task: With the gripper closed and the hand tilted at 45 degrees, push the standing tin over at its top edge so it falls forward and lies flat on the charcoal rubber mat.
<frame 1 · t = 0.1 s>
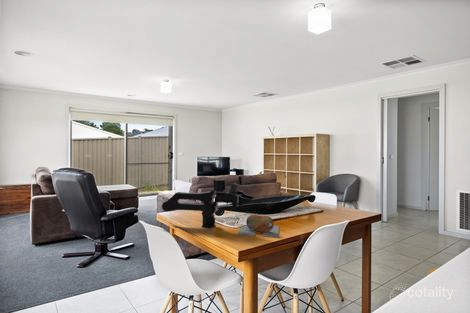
hand: (252, 199, 156), 17 cm above the table, tool horizontal, fingers open, 9 cm apart
tin: (260, 231, 151), on the table, touching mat
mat: (260, 231, 151), on the table
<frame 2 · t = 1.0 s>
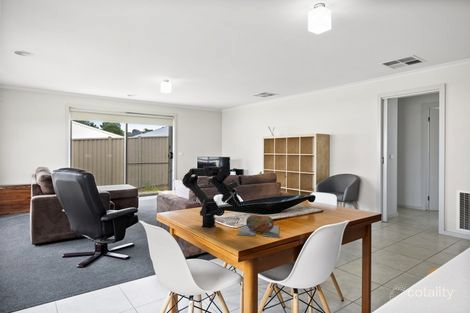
hand: (240, 206, 153), 13 cm above the table, tool tilted 45°, fingers open, 8 cm apart
nothing on the table moved.
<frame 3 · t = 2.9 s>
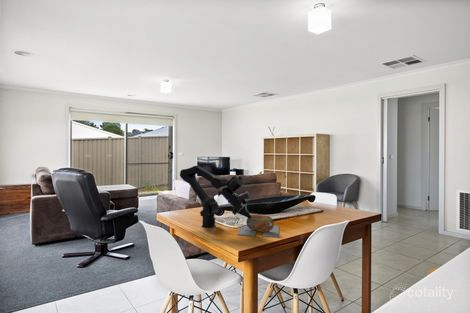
hand: (250, 217, 152), 7 cm above the table, tool tilted 45°, fingers closed
tin: (260, 230, 151), on the table, touching gripper, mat
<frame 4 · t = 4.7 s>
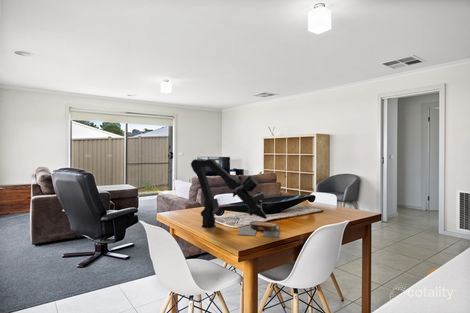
hand: (266, 218, 150), 7 cm above the table, tool tilted 45°, fingers closed
tin: (260, 228, 152), point 1 cm above the table, touching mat
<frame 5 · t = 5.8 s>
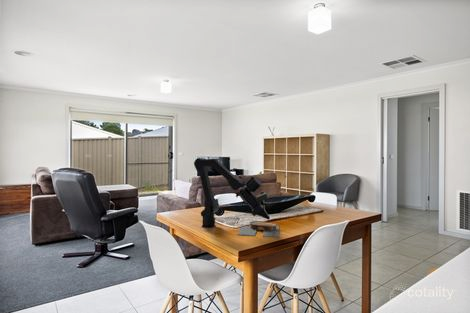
hand: (269, 218, 150), 7 cm above the table, tool tilted 45°, fingers closed
nothing on the table moved.
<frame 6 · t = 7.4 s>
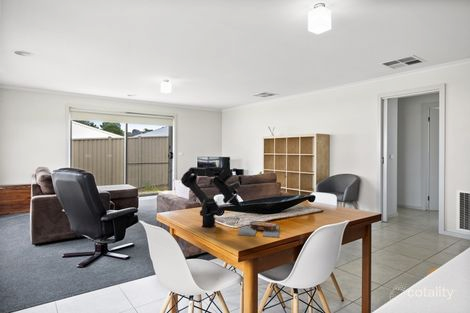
hand: (241, 207, 153), 13 cm above the table, tool tilted 45°, fingers closed
nothing on the table moved.
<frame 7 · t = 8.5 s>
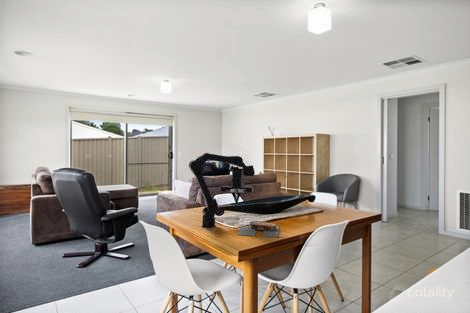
hand: (236, 203, 166), 12 cm above the table, tool pointing down, fingers closed
nothing on the table moved.
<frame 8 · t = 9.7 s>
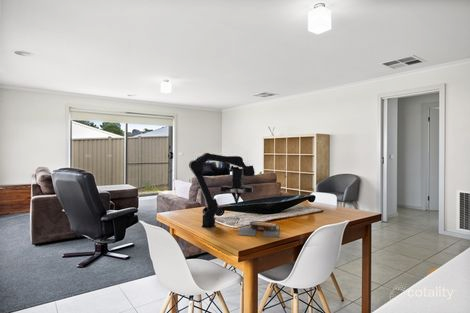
hand: (236, 203, 166), 12 cm above the table, tool pointing down, fingers closed
nothing on the table moved.
at the end: tin tilted 86°; tin touching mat; tin inside the target area (3.4 cm from its centre), point 1.4 cm above the table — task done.
